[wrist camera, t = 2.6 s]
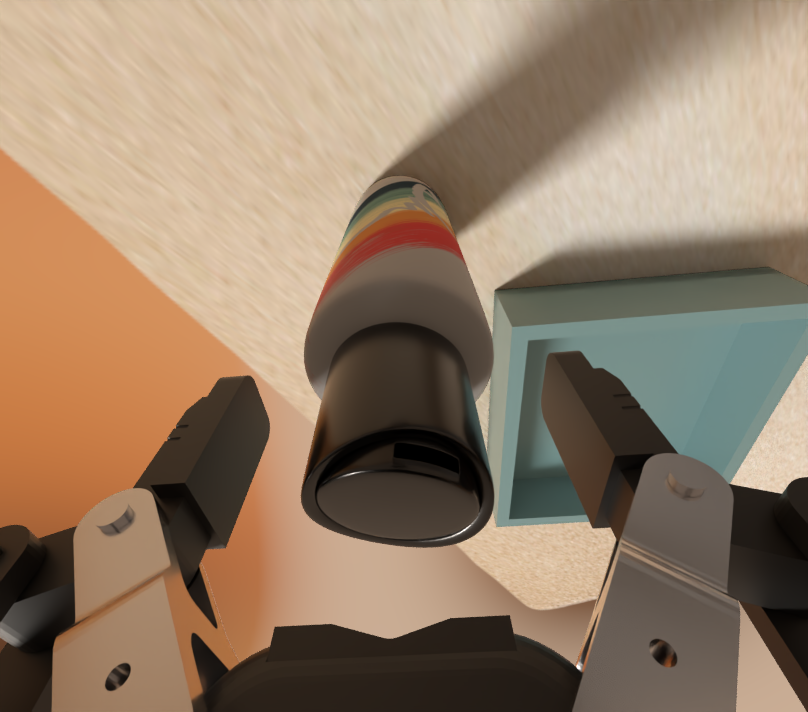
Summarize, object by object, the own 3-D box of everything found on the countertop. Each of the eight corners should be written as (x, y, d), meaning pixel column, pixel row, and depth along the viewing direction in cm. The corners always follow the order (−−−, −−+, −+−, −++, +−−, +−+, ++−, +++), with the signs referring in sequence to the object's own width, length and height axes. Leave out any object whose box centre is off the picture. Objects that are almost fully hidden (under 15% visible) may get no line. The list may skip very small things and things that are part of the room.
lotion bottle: (462, 196, 23) (620, 465, 6) (424, 280, 26) (465, 611, 9) (371, 157, 22) (277, 363, 5) (342, 249, 25) (223, 567, 8)
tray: (494, 290, 26) (512, 327, 22) (768, 267, 26) (840, 300, 21) (485, 479, 38) (496, 527, 33) (676, 467, 37) (711, 514, 33)
